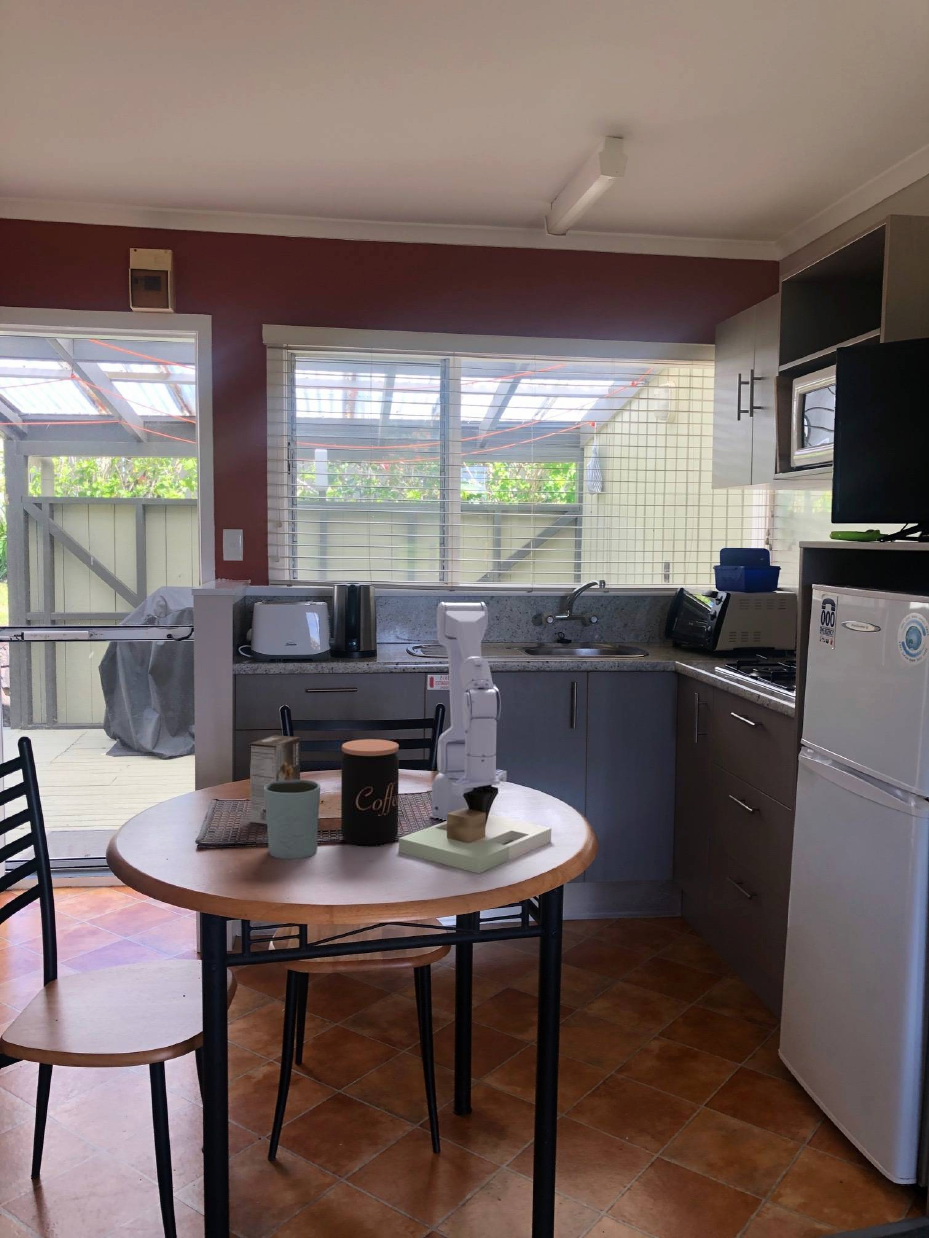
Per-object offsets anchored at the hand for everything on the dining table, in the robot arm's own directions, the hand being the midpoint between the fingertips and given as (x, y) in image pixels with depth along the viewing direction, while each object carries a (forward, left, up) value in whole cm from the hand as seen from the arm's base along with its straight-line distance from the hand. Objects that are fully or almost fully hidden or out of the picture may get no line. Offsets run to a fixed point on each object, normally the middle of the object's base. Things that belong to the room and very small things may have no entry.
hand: (479, 826), depth 173 cm
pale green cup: (-24, -24, -4) cm, 34 cm away
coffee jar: (-18, -10, -4) cm, 21 cm away
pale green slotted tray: (0, -1, -4) cm, 4 cm away
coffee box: (-42, -12, -4) cm, 44 cm away
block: (0, -4, -1) cm, 4 cm away
